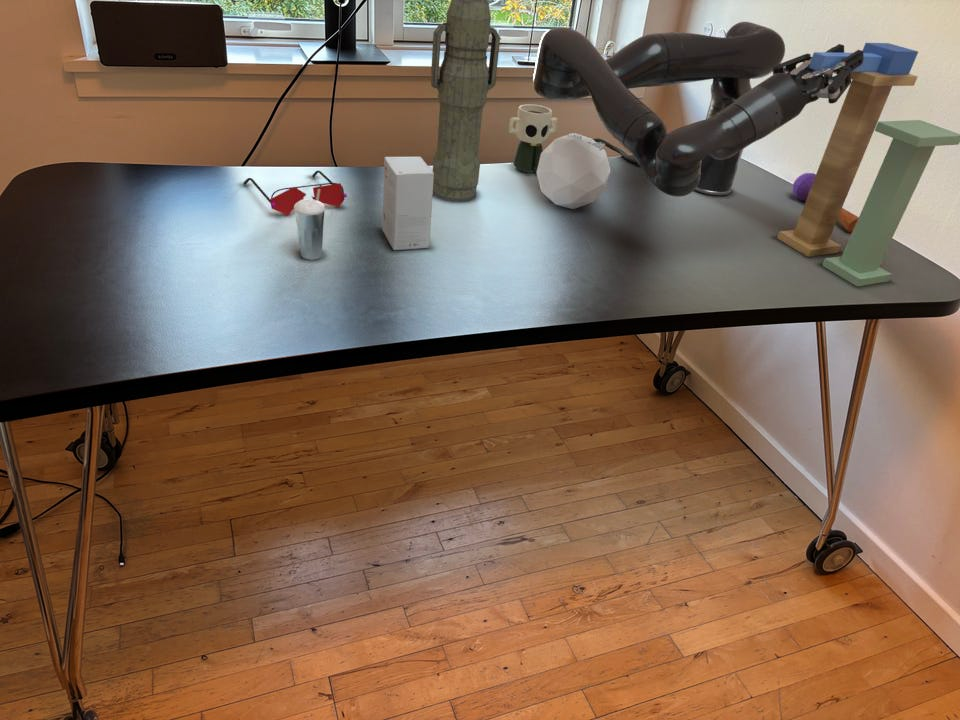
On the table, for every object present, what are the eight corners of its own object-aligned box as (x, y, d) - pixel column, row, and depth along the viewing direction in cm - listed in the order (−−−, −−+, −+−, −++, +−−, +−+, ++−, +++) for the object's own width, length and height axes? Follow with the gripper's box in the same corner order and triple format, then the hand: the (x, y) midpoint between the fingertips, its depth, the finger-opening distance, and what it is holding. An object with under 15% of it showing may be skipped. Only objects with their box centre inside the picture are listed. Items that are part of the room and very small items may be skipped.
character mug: (509, 175, 150) (517, 113, 143) (498, 164, 156) (505, 103, 148) (556, 174, 154) (566, 114, 146) (543, 163, 159) (552, 104, 152)
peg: (828, 74, 110) (837, 50, 108) (799, 65, 114) (807, 41, 112) (908, 74, 117) (918, 51, 115) (879, 65, 121) (888, 43, 119)
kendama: (846, 215, 140) (790, 170, 155) (838, 241, 144) (784, 195, 159) (873, 210, 141) (815, 166, 155) (864, 235, 145) (809, 190, 159)
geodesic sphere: (628, 171, 142) (596, 107, 136) (628, 197, 130) (592, 128, 125) (562, 204, 148) (529, 144, 143) (556, 232, 137) (519, 167, 131)
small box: (430, 248, 118) (435, 173, 111) (392, 251, 116) (395, 174, 109) (417, 228, 124) (420, 155, 117) (381, 230, 122) (383, 156, 115)
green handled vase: (491, 199, 139) (513, 2, 119) (435, 204, 134) (449, -1, 114) (471, 182, 145) (490, -8, 125) (418, 187, 140) (428, -10, 120)
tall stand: (803, 257, 131) (875, 76, 113) (773, 238, 137) (837, 63, 118) (842, 252, 135) (918, 76, 116) (811, 234, 140) (878, 64, 122)
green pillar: (852, 287, 122) (920, 137, 108) (817, 266, 128) (878, 121, 113) (892, 280, 126) (963, 135, 111) (856, 260, 132) (919, 119, 117)
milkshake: (333, 251, 114) (332, 192, 109) (316, 264, 110) (314, 203, 104) (308, 244, 115) (306, 185, 110) (291, 257, 111) (287, 197, 105)
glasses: (272, 219, 121) (270, 191, 119) (243, 184, 133) (240, 158, 130) (348, 209, 128) (348, 182, 125) (314, 176, 139) (313, 151, 136)
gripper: (794, 101, 104) (889, 40, 105) (731, 76, 115) (817, 20, 116) (797, 144, 110) (887, 85, 110) (736, 116, 120) (819, 63, 121)
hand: (851, 52), depth 113 cm, fingers open, 3 cm apart
